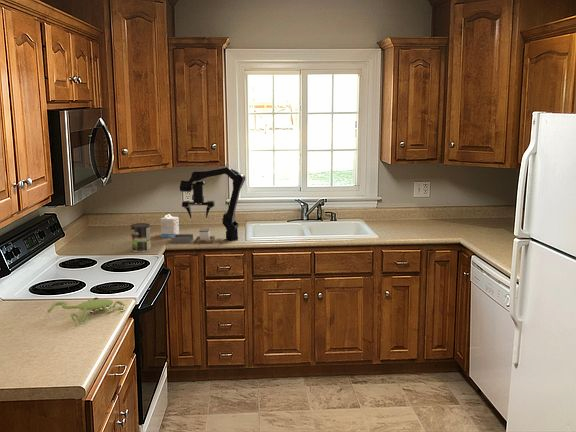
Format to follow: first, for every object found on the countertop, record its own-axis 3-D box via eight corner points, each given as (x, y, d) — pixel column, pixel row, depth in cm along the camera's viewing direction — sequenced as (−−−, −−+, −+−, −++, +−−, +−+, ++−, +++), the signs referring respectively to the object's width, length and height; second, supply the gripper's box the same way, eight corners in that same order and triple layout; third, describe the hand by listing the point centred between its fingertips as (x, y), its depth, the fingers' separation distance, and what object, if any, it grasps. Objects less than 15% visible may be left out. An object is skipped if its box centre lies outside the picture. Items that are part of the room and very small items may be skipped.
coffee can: (139, 253, 331) (138, 227, 328) (128, 250, 338) (126, 225, 335) (155, 249, 339) (153, 224, 336) (143, 246, 345) (142, 222, 343)
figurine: (43, 318, 234) (41, 304, 233) (103, 300, 254) (103, 287, 253) (69, 330, 222) (68, 315, 221) (131, 310, 242) (130, 296, 241)
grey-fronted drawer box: (210, 239, 361) (209, 228, 360) (208, 242, 354) (208, 230, 352) (201, 239, 361) (200, 228, 360) (199, 242, 354) (199, 230, 352)
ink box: (174, 238, 366) (173, 216, 363) (160, 238, 367) (159, 215, 365) (179, 235, 374) (178, 213, 372) (166, 234, 376) (165, 213, 373)
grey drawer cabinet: (193, 239, 362) (193, 233, 362) (190, 243, 352) (190, 237, 351) (174, 239, 362) (174, 234, 362) (171, 244, 352) (171, 238, 351)
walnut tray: (214, 239, 363) (214, 236, 363) (212, 244, 352) (212, 240, 351) (197, 239, 363) (197, 236, 363) (194, 244, 351) (194, 240, 351)
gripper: (215, 190, 370) (215, 215, 373) (184, 190, 370) (185, 215, 373) (213, 192, 359) (214, 219, 362) (181, 192, 359) (182, 219, 362)
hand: (198, 218), depth 365 cm, fingers open, 9 cm apart
